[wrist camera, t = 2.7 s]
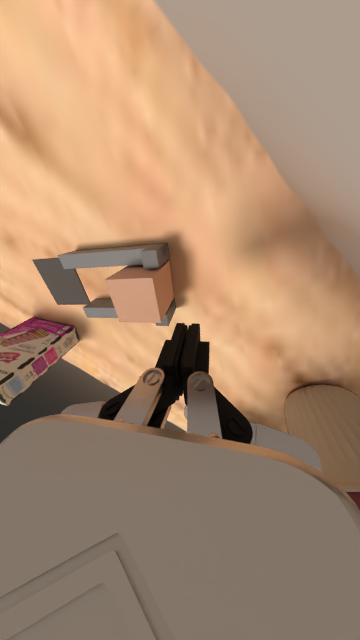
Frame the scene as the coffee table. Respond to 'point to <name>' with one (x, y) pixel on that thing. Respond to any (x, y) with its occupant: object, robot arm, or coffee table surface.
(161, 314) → the block
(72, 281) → the mat
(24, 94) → the coffee table surface
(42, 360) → the candy bar box
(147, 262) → the grey u-shaped bracket
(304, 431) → the canister
